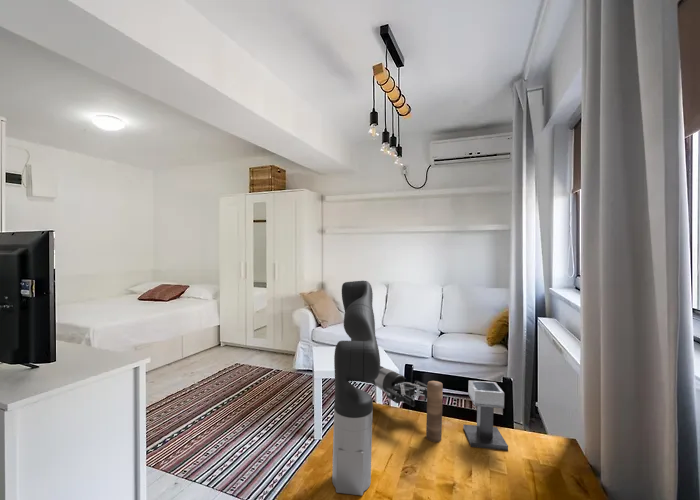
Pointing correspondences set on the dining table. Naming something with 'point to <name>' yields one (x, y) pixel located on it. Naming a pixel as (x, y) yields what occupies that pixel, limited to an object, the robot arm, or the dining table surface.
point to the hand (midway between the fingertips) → (424, 400)
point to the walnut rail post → (434, 411)
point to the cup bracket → (485, 415)
